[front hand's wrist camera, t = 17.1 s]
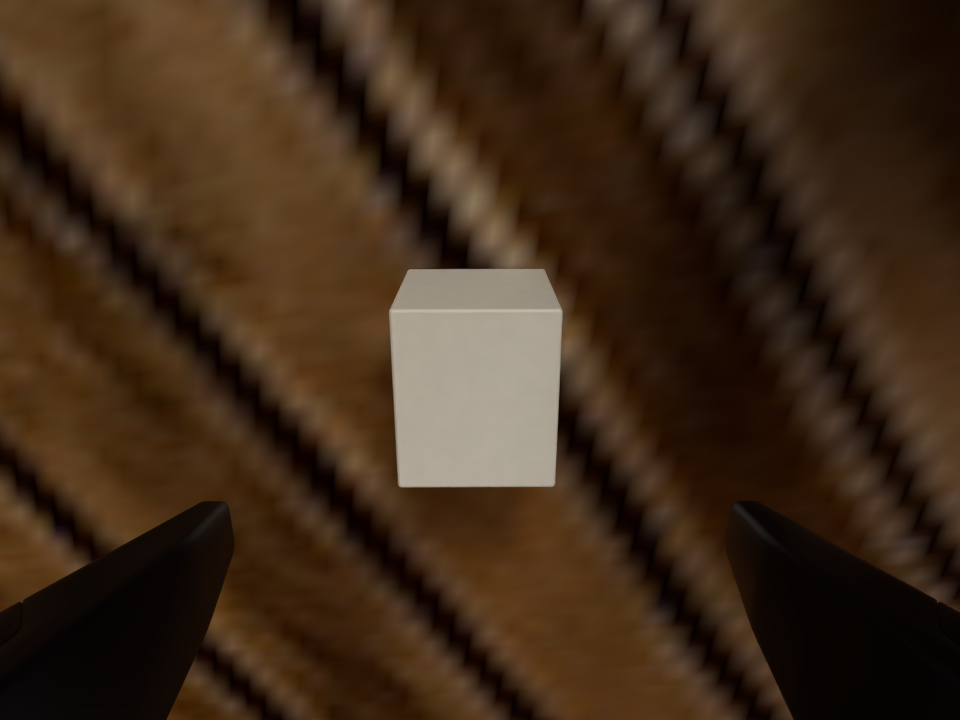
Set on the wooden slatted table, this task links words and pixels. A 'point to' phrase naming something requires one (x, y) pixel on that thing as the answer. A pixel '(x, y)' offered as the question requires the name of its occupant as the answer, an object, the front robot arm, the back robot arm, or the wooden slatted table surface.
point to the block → (476, 378)
